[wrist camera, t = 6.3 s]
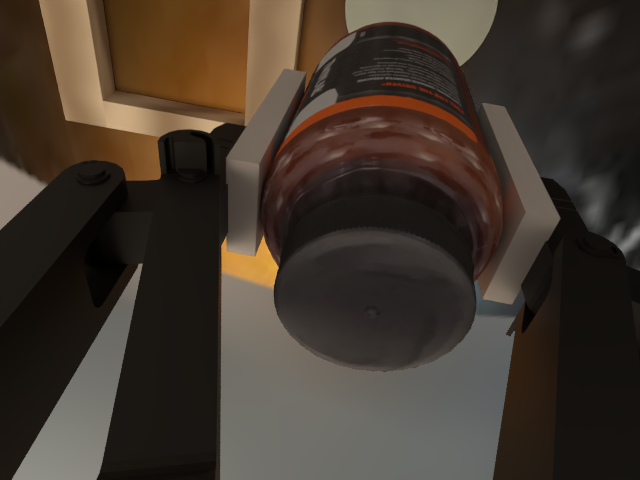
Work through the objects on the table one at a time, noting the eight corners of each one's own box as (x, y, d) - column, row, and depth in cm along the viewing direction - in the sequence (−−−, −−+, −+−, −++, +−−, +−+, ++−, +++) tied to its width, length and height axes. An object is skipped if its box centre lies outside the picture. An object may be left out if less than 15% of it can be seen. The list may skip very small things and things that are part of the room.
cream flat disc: (522, -69, 25) (525, -68, 24) (465, 90, 30) (466, 94, 30) (361, -99, 25) (361, -99, 24) (334, 66, 30) (334, 69, 30)
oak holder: (313, -75, 25) (309, -72, 24) (288, 146, 34) (284, 159, 33) (33, -128, 25) (10, -128, 24) (79, 109, 34) (65, 120, 32)
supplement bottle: (292, 38, 17) (169, 203, 8) (459, -3, 15) (544, 144, 6) (329, 177, 20) (274, 403, 11) (469, 156, 18) (533, 398, 10)
